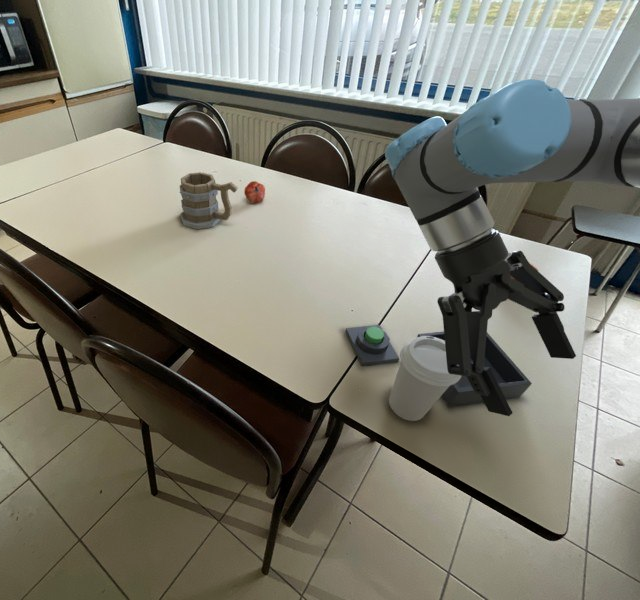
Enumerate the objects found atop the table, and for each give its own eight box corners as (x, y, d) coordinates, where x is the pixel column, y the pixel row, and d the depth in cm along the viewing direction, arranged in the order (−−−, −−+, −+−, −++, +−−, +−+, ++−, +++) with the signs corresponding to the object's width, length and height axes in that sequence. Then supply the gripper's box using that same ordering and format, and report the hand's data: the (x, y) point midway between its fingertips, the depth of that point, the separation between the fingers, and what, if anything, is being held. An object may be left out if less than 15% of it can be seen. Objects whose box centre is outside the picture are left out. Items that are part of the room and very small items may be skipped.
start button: (384, 343, 77) (386, 338, 76) (368, 345, 77) (370, 339, 76) (377, 331, 80) (379, 326, 79) (361, 333, 80) (363, 327, 78)
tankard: (174, 222, 120) (168, 178, 110) (196, 207, 129) (192, 164, 119) (226, 238, 113) (224, 193, 103) (245, 221, 121) (246, 177, 111)
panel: (397, 362, 77) (402, 353, 75) (361, 366, 76) (364, 357, 74) (378, 328, 84) (381, 319, 82) (344, 331, 83) (347, 322, 81)
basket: (519, 397, 70) (532, 383, 67) (448, 406, 69) (458, 392, 66) (473, 341, 81) (482, 327, 78) (411, 348, 80) (418, 333, 77)
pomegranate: (242, 203, 135) (243, 198, 125) (245, 184, 135) (246, 176, 125) (262, 206, 135) (264, 201, 125) (265, 186, 135) (267, 179, 125)
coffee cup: (438, 398, 70) (471, 346, 60) (428, 438, 64) (462, 388, 54) (388, 376, 74) (411, 324, 64) (374, 412, 68) (397, 361, 58)
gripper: (497, 210, 54) (557, 335, 55) (373, 289, 47) (446, 430, 48) (552, 192, 47) (620, 336, 48) (416, 282, 40) (500, 447, 41)
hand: (533, 383), depth 48 cm, fingers open, 13 cm apart
